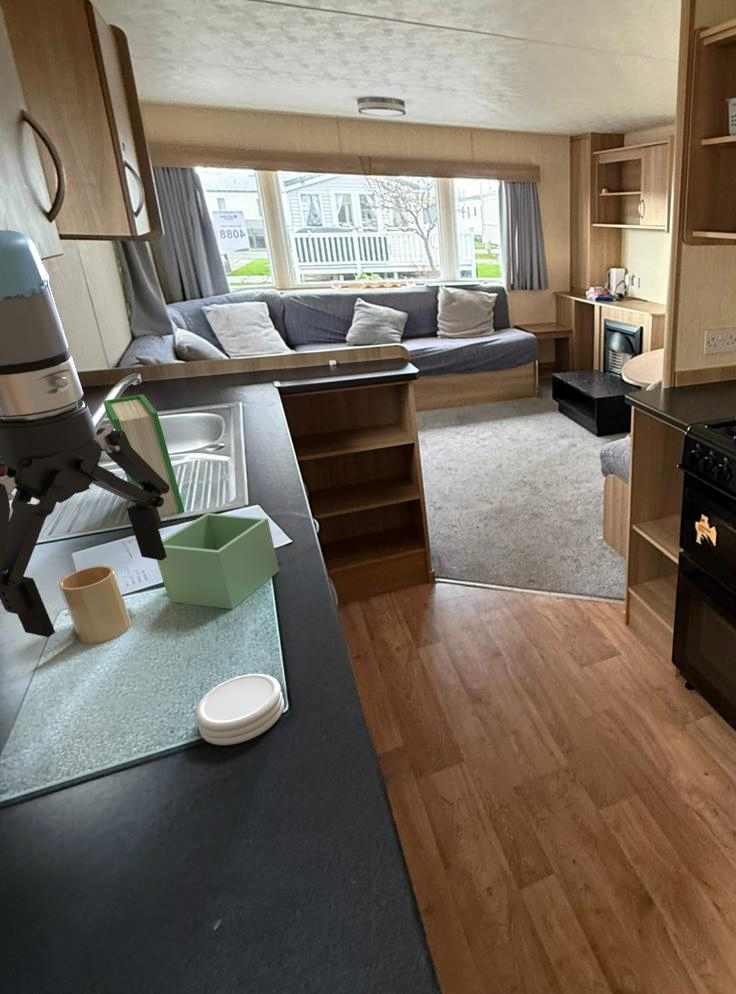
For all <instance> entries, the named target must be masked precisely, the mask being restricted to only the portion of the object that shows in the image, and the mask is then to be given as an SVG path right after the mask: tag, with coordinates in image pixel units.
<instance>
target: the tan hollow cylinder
mask: <svg viewBox="0 0 736 994" xmlns="http://www.w3.org/2000/svg"><path fill="white" fill-rule="evenodd" d="M58 588H59V591H60V593H61V596H62V599H63V601H64V604H65V606H66V610H67V611H68V615H69V617H70V620H71V622H72V625H73V627H74V631H75V634H76V635H77V638H78V639H79V640H78V641H80V642H81V643H83V644H87V645H95V644H101V643H105V642H108V641H111V640H113V639H116V638H117V637H120V636H121V635H123V634H124V633H125V632H127V631H128V630H129V629H130V627H131V625H132V622H131V617H130V614H129V611H128V609H127V605H126V602H125V599H124V596H123V593H122V590H121V587H120V584H119V582H118V578H117V575H116V573H115V569H114V568H113V567H112V566H108V565H95V566H90V567H86V568H82V569H79V570H77V571H74V572H71V573H70V574H68V575H66V576H64V577H63V578H62V579H61V580H60V581H59V583H58Z"/></svg>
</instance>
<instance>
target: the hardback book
mask: <svg viewBox="0 0 736 994" xmlns="http://www.w3.org/2000/svg"><path fill="white" fill-rule="evenodd" d="M102 403H103V406H104V409H105V412H106V417H107V419H108V423H109V425H110V429H115V430H121V431H124V432H125V434H126V436H127V438H128V441H129V443H130V445H131V447H132V448H133V449H134V450H135V451H136V452H137V453H138V454H139V455H140V456H141V457H142V458H143V459H144V460H145V461H146V463H147V464H148V465H149V466H150V467H151V468H152V469H153V470H154V471H155V472H156V473H157V474H158V475H159V476H160V477H161V478H162V479H163V480H164V481H165V482H166V483H167V484H168V485H169V491H168V493H166V494H162V495H161V496H160V497H162V498H163V499H164V504H163V505H162V506H161V507H157V509H158V512H159V516H160V518H163V517H166V516H170V515H174V514H177V513H179V514H182V513H185V512H186V511H185V508H184V504H183V501H182V500H183V499H182V497H181V494H180V489H179V486H178V483H177V479H176V476H175V475H176V474H175V471H174V467H173V465H172V461H171V457H170V454H169V450H168V446H167V443H166V438H165V436H164V431H163V429H162V424H161V422H160V418H159V414H158V411H157V410H156V409H155V407H154V406H153V405H152V404H151V402H150V401H149V400H148V398H147V397H146V396H145V394H137V395H131V396H124V397H118V398H111V399H106V400H102ZM124 474H125V477H126V481H127V482H129V483H131V484H133V485H135V486H137V487H139V488H141V487H140V486H139V485H138V484H137V483H136V482H135V481H134V480H133V479H132V478H131V477H130V476H129V475H128V474H127V473H126V472H125V471H124ZM141 489H142V488H141Z"/></svg>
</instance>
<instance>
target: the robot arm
mask: <svg viewBox="0 0 736 994" xmlns="http://www.w3.org/2000/svg"><path fill="white" fill-rule="evenodd" d="M49 281H50V277H49V273H48V271H47V269H46V268H45V267H44V265H43V262H42V260H41V258H40V256H39V253H38V250H37V249H36V245H35V244H34V242H33V241H32V240H31V238H30V237H28V236H27V235H26V234H24V233H22V232H19V231H16V230H10V229H9V230H8V229H4V230H1V229H0V458H1V459H2V460H3V462H4V464H5V472H4V475H1V476H0V602H1V605H2V607H3V608H4V610H5V611H6V612H8V613H11V614H15V615H17V616H18V619H19V621H20V623H21V625H22V628H23V630H24V633H26V634H31V635H35V636H40V637H44V638H50V637H51V636H52V635H54V634H55V633H56V630H55V628H54V625H53V622H52V619H51V618H50V615H49V613H48V611H47V608H46V606H45V604H44V601H43V598H42V596H41V594H40V592H39V589H38V587H37V584H36V582H35V580H34V577H29V576H25V573H26V571H27V569H28V565H29V563H30V561H31V558H32V556H33V552H34V550H35V549H36V548H35V547H36V545H37V542H38V540H39V538H40V536H41V535H40V534H41V532H42V530H43V527H44V525H45V521H46V520H47V517H49V516H50V515H52V514H53V513H54V511H55V508H56V505H57V503H58V504H62V503H64V502H66V501H67V500H70V498H72V497H73V496H74V495H76V494H80V493H83V492H86V491H88V490H90V488H91V487H90V486H91V485H95V486H96V487H99V488H100V489H102V490H105V491H107V492H109V493H111V494H114V495H115V496H118V497H119V498H122V499H124V500H126V501H128V502H130V503H132V504H135V505H130V506H128V507H127V508H126V511H127V514H128V518H129V521H130V524H131V528H132V531H133V533H134V536H135V540H136V543H137V546H138V549H139V552H140V556H141V558H146V559H150V560H151V559H152V560H156V561H157V560H161V561H162V560H163V559H165V558H166V557H167V556H166V553H165V549H164V546H163V542H162V540H163V539H162V536H161V533H160V529H161V528H162V519H161V517H160V516H159V512H158V509H157V507H161V506H162V505H163V504H164V499H163V498H162V497H160V496H161V495H162V494H166V493H168V491H169V485H168V484H167V483H166V482H165V481H164V480H163V479H162V478H161V477H160V476H159V475H158V474H157V473H156V472H155V471H154V470H153V469H152V468H151V467H150V466H149V465H148V464H147V463H146V461H145V460H144V459H143V458H142V457H141V456H140V455H139V454H138V453H137V452H136V451H135V450H134V449H133V448H132V447H131V445H130V443H129V441H128V438H127V436H126V434H125V432H124V431H121V430H115V429H111V428H106V427H99V428H97V430H96V427H95V423H94V421H93V418H92V415H91V411H90V409H89V406H88V403H87V402H85V401H84V400H82V398H83V396H84V391H83V388H82V385H81V381H80V378H79V375H78V372H77V369H76V365H75V362H74V360H73V356H72V353H71V351H70V347H69V344H68V341H67V338H66V335H65V332H64V328H63V326H62V325H63V324H62V322H61V318H60V316H59V312H58V309H57V305H56V303H55V300H54V296H53V293H52V290H51V286H50V283H49ZM102 452H103V453H105V454H106V455H107V456H108V457H109V458H110V459H111V460H112V461H113V462H114V463H115V464H116V465H117V466H118V467H119V468H120V469H121V470H122V471H123V472H124V473H125V472H126V473H127V474H128V475H129V476H130V477H131V478H132V479H133V480H134V481H135V482H136V483H137V484H138V485H139V486H140V487H141V488H142V489H141V488H139V487H137V486H135V485H133V484H131V483H129V482H128V481H127V480H125V479H123V478H121V477H119V476H118V475H116V474H115V473H114V472H112V471H110V470H108V469H107V468H105V467H103V466H100V465H99V462H100V460H101V455H102ZM14 489H15V493H14V494H13V493H12V492H13V490H14ZM33 498H34V499H35V500H37V501H38V503H36V504H34V503H31V501H32V499H33ZM10 501H11V504H10ZM11 509H12V513H11Z"/></svg>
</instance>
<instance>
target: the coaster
mask: <svg viewBox="0 0 736 994" xmlns="http://www.w3.org/2000/svg"><path fill="white" fill-rule="evenodd" d="M284 707H285V700H284V697H283V692H282V687H281V684H280V682H279V681H278V680H277V679H276V678H274V677H273V676H271V675H267V674H261V673H250V674H244V675H243V674H242V675H240V676H236V677H233V678H230V679H228V680H226V681H223V682H222V683H220V684H217V686H215V687H214V688H212V689H211V690H209V691H208V692H207V693H206V694H204V696H203V697H202V698H201V700H200V701H199V702H198V704H197V705H196V709H195V714H194V715H195V721H196V722H197V727H198V729H199V733H200V736H201V737H202V738H203V739H204V741H206V742H207V743H210V744H212V745H215V746H216V745H217V746H231V745H237V744H242V743H244V742H247V741H250V740H252V739H255V738H257V737H259V736H261V735H262V734H264V733H265V732H267V731H268V730H269V729H271V727H273V726H274V724H276V723H277V721H278V720H279V719H280V718H281V716H282V714H283V711H284Z"/></svg>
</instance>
